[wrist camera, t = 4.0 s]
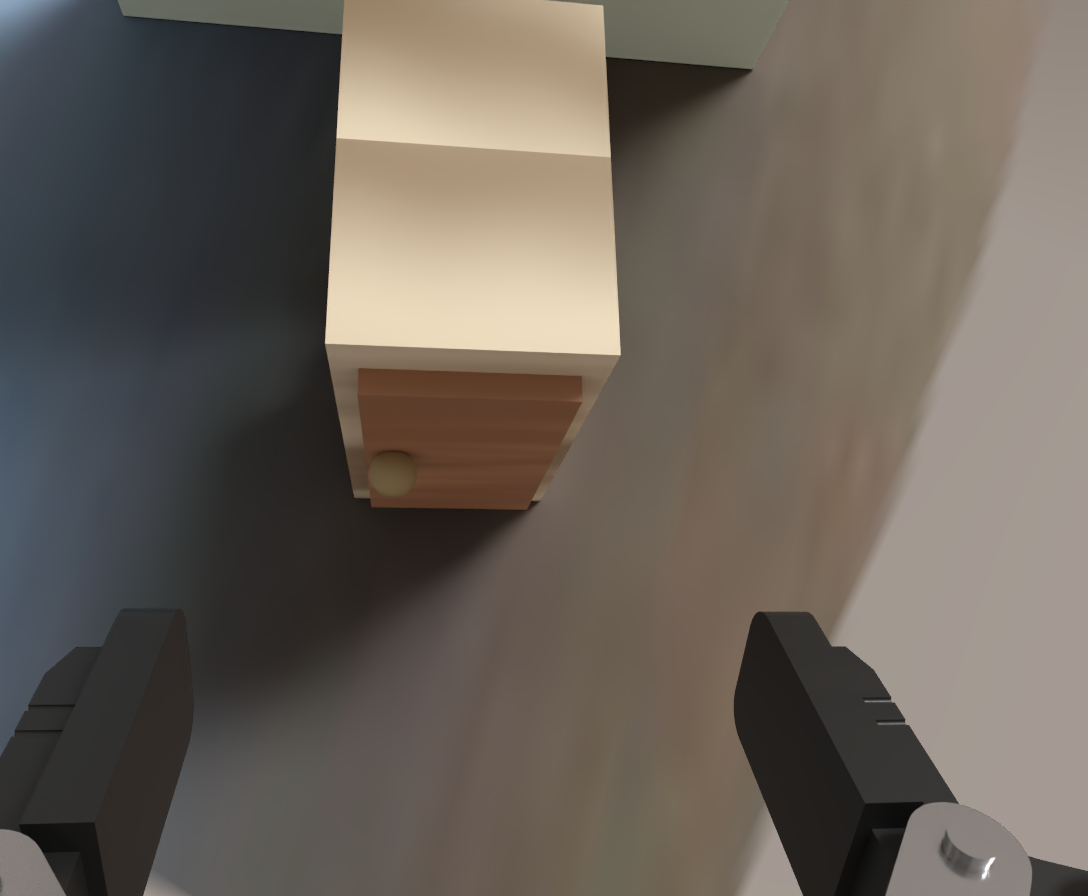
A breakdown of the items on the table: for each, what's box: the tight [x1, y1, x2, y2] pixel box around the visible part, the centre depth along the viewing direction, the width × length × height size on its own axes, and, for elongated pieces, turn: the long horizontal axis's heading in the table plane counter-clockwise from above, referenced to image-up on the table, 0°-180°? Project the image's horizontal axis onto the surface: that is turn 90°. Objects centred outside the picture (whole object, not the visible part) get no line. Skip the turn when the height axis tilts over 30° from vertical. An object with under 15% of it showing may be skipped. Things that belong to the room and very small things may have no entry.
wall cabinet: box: [325, 0, 621, 510], centre depth 21 cm, size 9×5×10 cm, turn 1°
